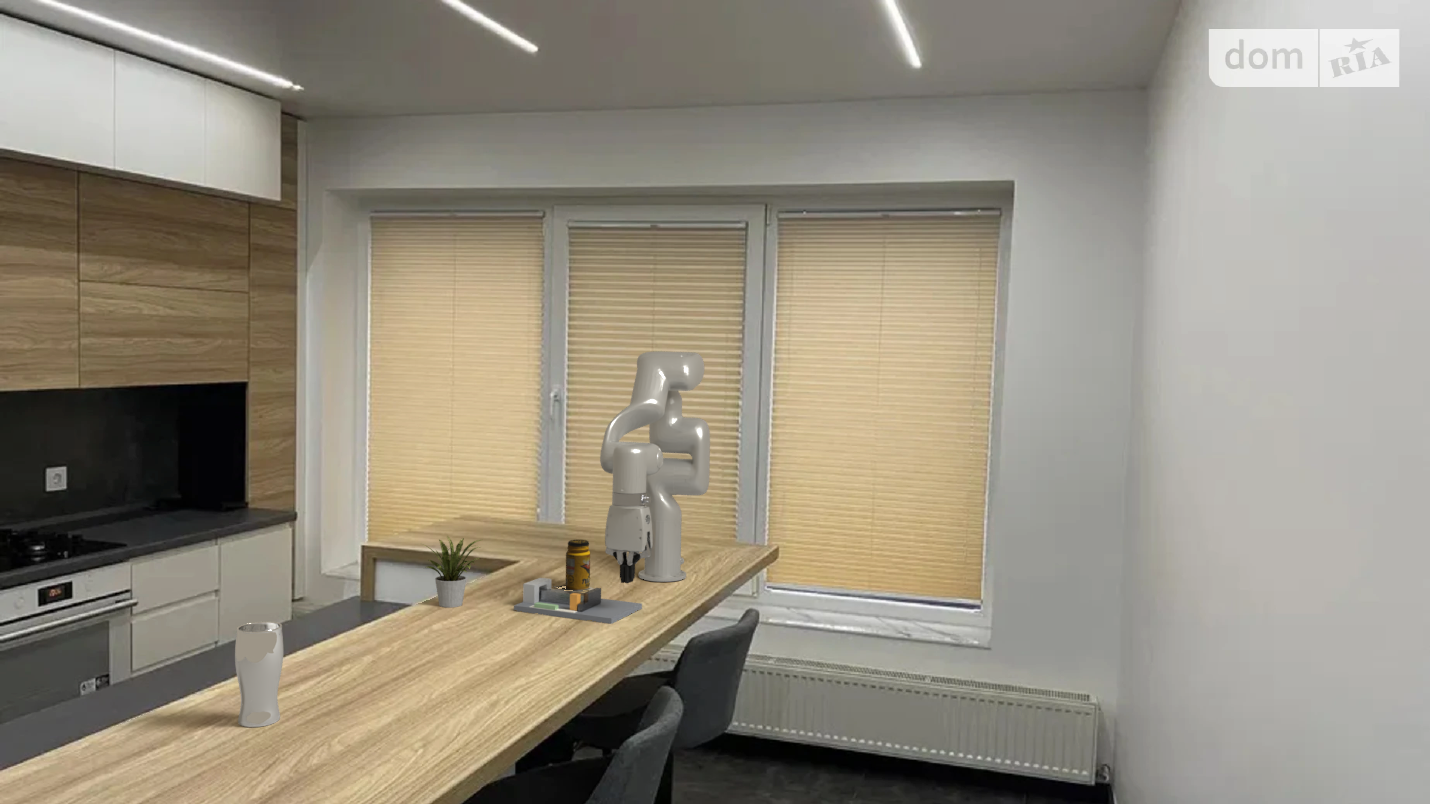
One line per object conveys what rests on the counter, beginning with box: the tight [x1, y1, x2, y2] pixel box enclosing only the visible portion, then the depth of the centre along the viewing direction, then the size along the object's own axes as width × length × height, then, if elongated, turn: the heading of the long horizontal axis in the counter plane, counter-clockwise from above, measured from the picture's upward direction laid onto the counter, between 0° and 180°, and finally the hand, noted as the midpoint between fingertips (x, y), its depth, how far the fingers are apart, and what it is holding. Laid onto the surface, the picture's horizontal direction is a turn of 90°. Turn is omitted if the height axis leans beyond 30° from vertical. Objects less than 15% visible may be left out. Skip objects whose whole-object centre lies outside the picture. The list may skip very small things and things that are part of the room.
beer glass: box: [234, 620, 284, 728], centre depth 162 cm, size 7×7×15 cm
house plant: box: [421, 535, 482, 608], centre depth 238 cm, size 14×14×16 cm
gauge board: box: [513, 577, 643, 625], centre depth 237 cm, size 15×25×5 cm, turn 68°
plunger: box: [539, 587, 602, 612], centre depth 237 cm, size 9×15×4 cm, turn 68°
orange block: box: [570, 593, 581, 611], centre depth 232 cm, size 2×2×4 cm
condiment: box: [552, 539, 595, 592], centre depth 258 cm, size 7×8×12 cm
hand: (627, 581), depth 231 cm, fingers closed
